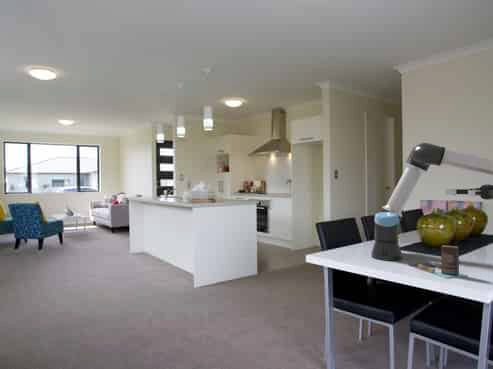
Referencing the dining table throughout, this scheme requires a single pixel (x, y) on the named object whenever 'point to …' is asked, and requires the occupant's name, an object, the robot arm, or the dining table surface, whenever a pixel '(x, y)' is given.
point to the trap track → (427, 266)
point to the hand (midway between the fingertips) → (456, 192)
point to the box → (450, 260)
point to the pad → (449, 275)
